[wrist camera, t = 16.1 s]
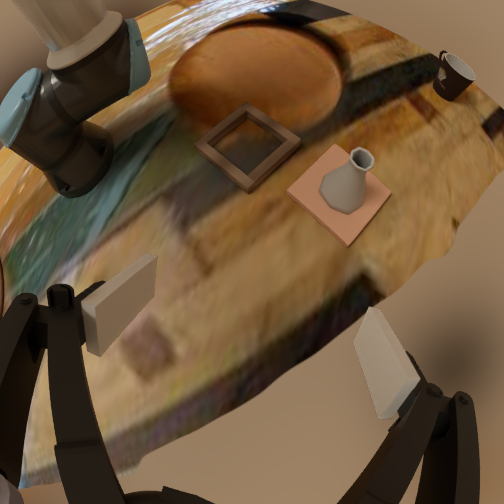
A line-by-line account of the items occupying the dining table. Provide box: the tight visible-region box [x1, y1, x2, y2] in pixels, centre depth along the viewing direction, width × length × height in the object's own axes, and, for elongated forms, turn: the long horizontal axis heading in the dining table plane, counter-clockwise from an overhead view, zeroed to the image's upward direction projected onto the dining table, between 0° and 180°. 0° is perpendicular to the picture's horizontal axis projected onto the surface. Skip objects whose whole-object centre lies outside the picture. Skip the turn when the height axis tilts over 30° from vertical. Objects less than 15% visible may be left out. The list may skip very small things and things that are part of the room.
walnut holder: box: [194, 102, 301, 194], centre depth 41 cm, size 12×12×2 cm
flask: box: [318, 147, 375, 215], centre depth 34 cm, size 7×7×10 cm
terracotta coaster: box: [286, 144, 391, 247], centre depth 40 cm, size 12×12×1 cm
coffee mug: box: [433, 50, 476, 101], centre depth 40 cm, size 12×9×10 cm
